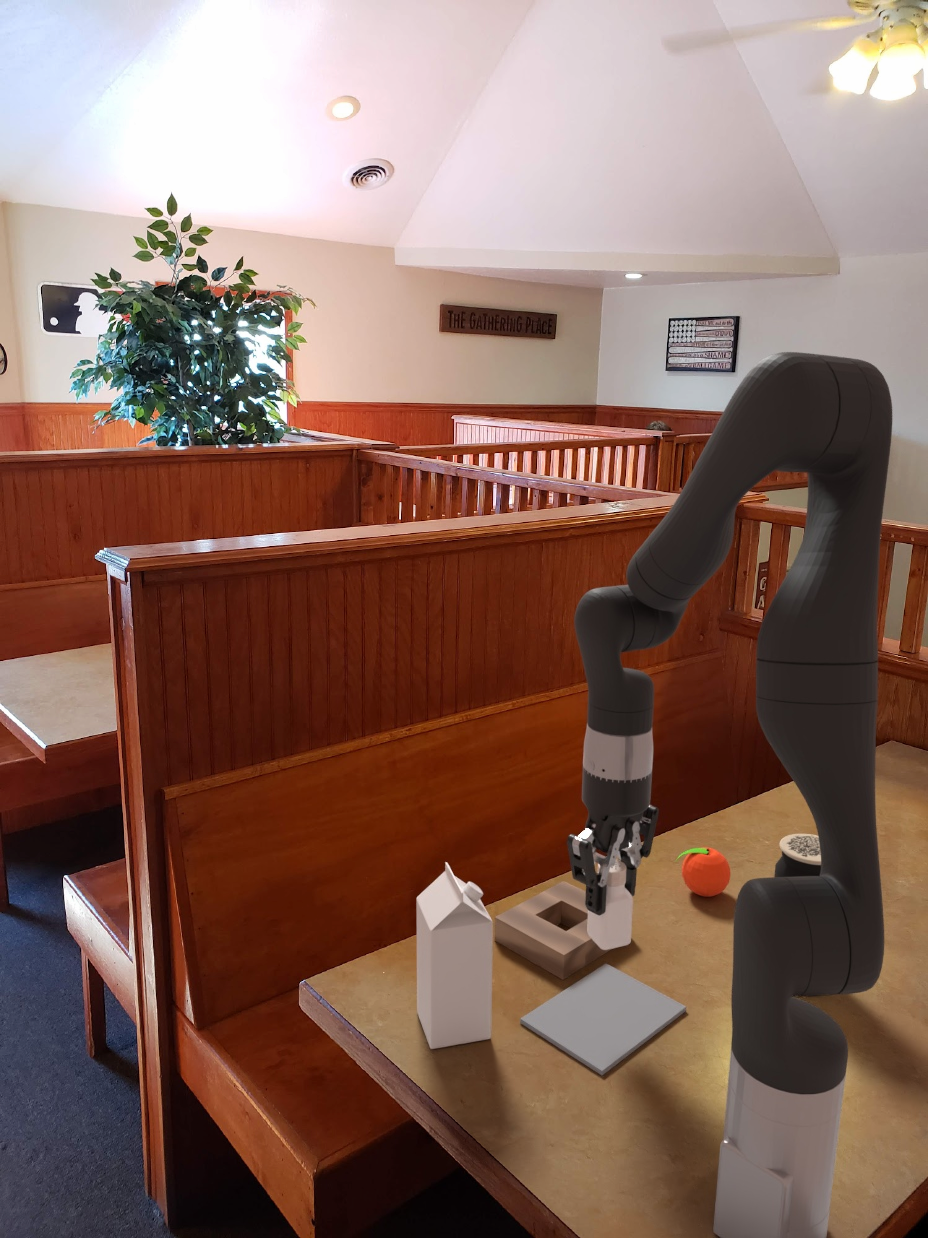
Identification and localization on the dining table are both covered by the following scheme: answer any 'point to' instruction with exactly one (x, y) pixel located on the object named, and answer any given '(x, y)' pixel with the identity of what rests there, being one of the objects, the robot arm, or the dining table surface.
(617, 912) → the salt shaker
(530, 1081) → the dining table surface
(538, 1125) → the dining table surface
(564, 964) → the shaker holder
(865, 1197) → the dining table surface
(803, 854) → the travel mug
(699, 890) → the clementine
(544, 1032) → the placemat
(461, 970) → the milk carton
